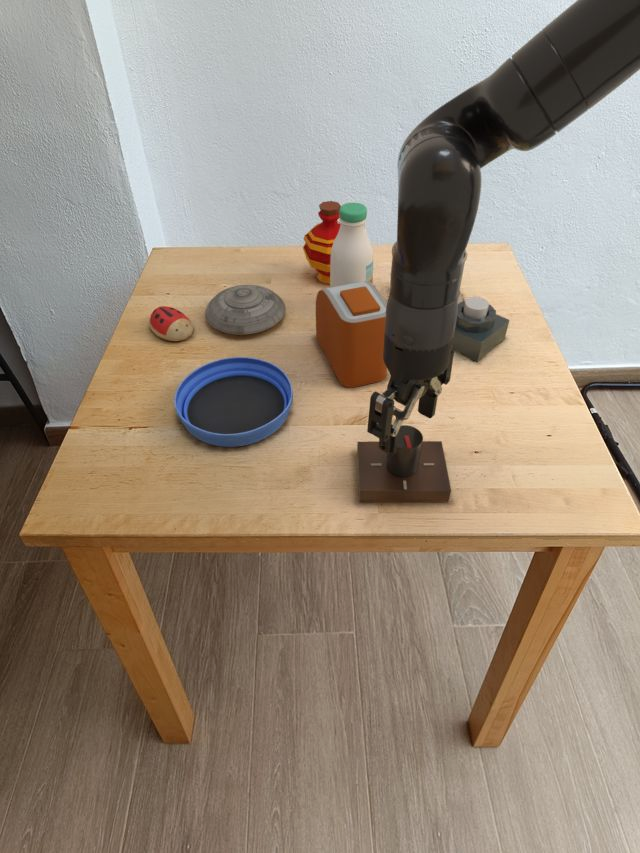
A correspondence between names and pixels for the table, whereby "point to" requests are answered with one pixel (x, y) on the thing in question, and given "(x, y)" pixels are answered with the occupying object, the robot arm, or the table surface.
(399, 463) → the dial
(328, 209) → the potion bottle
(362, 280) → the milk bottle
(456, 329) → the push button base
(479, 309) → the grey push button
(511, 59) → the robot arm
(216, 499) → the table surface
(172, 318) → the ladybug figurine
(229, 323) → the flying saucer
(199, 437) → the bowl
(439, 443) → the dial panel
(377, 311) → the alarm clock
